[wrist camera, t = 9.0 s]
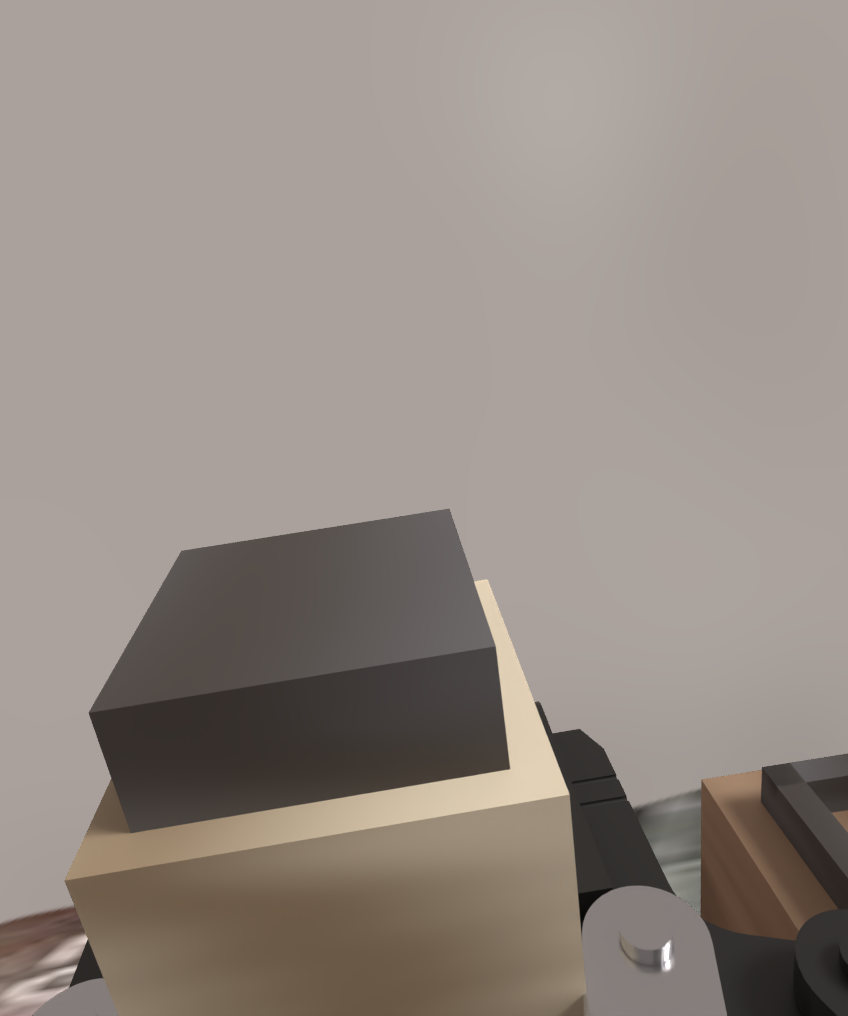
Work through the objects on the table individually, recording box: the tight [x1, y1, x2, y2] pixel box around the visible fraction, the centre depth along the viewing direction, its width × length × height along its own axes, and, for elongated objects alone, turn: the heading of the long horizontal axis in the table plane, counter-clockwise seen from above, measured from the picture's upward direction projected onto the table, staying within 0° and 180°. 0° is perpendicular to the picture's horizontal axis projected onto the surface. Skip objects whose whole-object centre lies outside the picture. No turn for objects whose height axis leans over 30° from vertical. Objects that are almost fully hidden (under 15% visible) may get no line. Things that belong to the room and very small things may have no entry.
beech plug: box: [65, 509, 586, 1016], centre depth 9 cm, size 4×4×11 cm
